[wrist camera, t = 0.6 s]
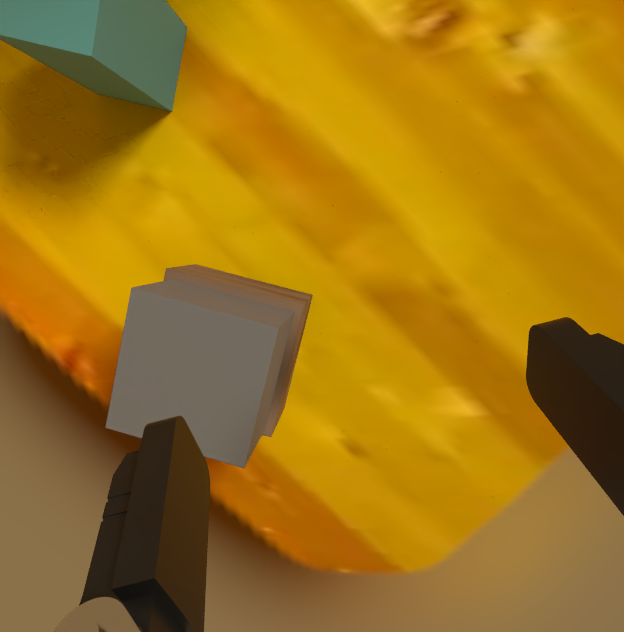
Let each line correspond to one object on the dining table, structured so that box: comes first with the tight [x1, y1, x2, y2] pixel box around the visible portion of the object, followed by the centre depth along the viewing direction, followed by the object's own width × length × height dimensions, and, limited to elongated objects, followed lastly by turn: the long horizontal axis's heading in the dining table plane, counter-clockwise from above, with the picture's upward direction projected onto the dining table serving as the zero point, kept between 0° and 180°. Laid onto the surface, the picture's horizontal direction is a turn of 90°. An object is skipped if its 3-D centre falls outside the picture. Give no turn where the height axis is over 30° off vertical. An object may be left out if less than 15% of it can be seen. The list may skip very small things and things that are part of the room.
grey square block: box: [106, 279, 294, 468], centre depth 24 cm, size 7×7×5 cm
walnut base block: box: [164, 264, 313, 437], centre depth 29 cm, size 8×8×5 cm
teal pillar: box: [0, 0, 187, 112], centre depth 25 cm, size 5×5×9 cm
